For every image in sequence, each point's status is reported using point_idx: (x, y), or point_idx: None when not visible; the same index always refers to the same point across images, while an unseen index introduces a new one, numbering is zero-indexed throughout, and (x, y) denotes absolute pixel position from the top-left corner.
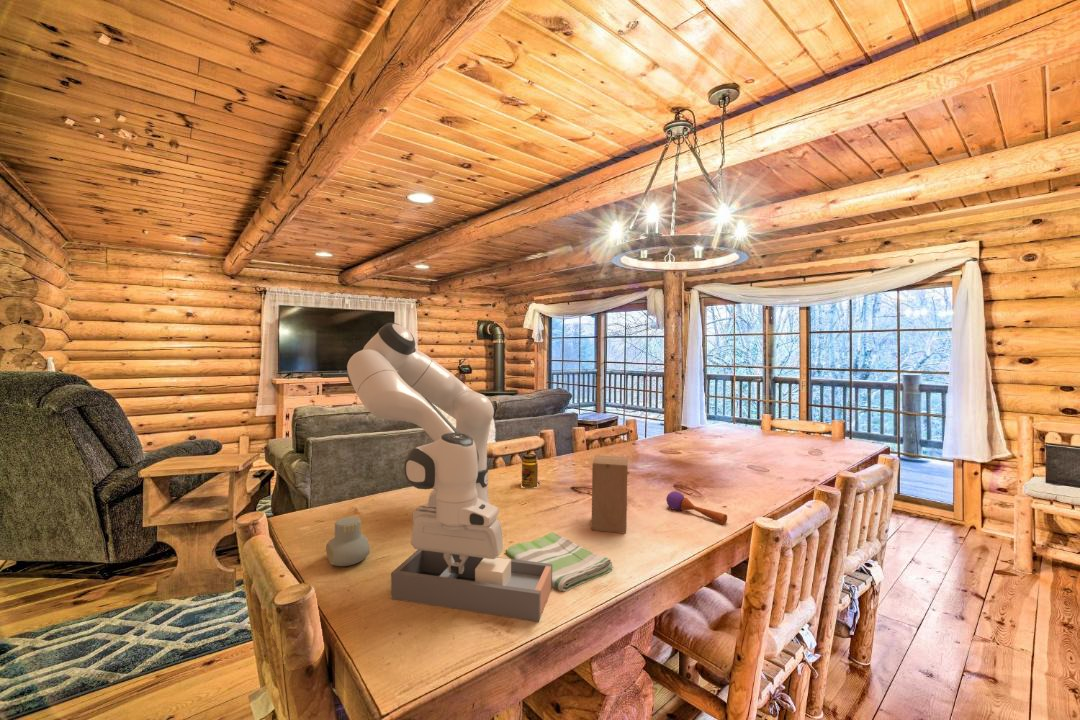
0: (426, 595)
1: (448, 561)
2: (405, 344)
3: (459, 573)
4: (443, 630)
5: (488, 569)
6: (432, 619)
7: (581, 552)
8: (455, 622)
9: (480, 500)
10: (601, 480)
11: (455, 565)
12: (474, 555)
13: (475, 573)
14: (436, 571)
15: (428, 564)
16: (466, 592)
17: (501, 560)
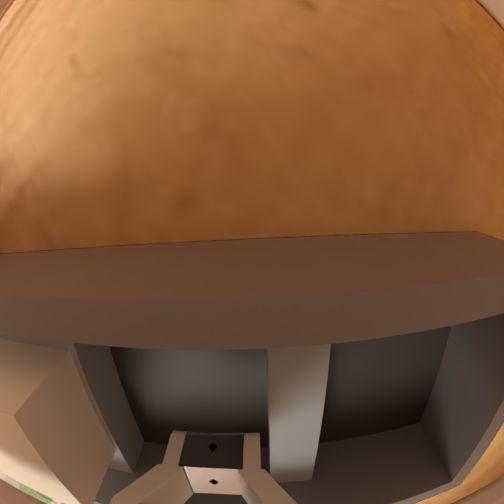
0: (328, 248)
1: (258, 491)
2: None
3: (180, 432)
4: (125, 75)
5: None
6: (214, 123)
7: (38, 498)
8: (100, 145)
9: None
10: None
11: (211, 473)
12: (14, 497)
13: (26, 397)
14: (366, 441)
15: (407, 449)
16: (47, 275)
17: (10, 470)
